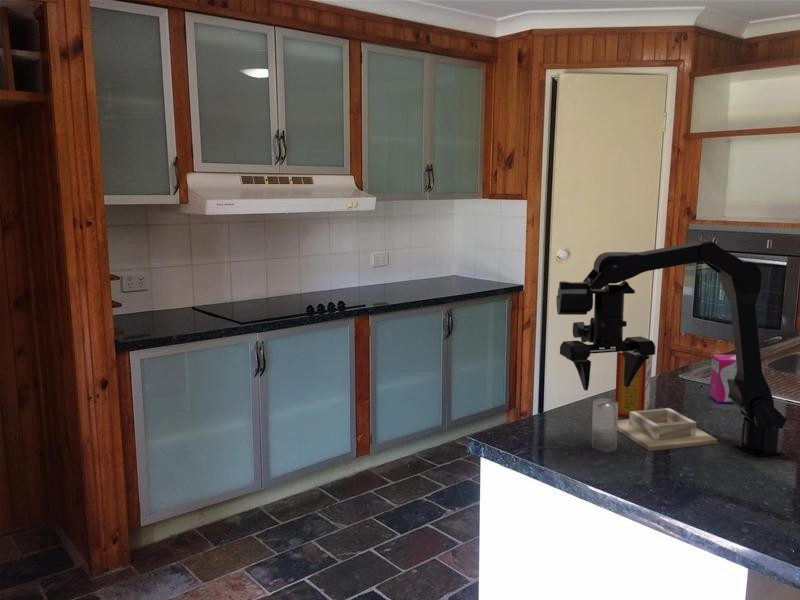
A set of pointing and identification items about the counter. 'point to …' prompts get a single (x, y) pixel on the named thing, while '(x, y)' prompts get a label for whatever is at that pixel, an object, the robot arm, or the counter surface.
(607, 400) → the aluminium peg
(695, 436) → the square peg hole base
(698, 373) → the counter surface
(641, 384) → the baking soda box
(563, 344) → the robot arm
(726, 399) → the supplement box
